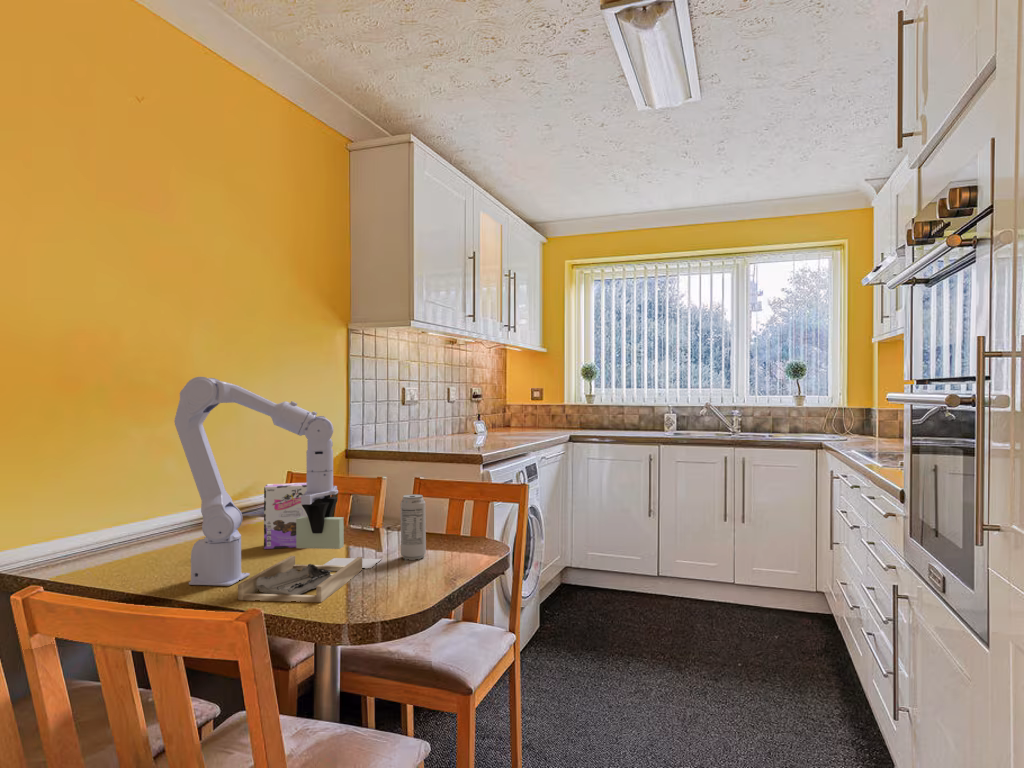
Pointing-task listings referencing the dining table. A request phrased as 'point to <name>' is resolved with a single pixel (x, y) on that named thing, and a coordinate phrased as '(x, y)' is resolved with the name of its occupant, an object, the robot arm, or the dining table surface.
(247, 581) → the birch rack
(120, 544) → the dining table surface
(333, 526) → the pale green block
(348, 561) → the light gray panel
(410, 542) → the energy drink can
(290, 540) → the candy box
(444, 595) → the dining table surface
